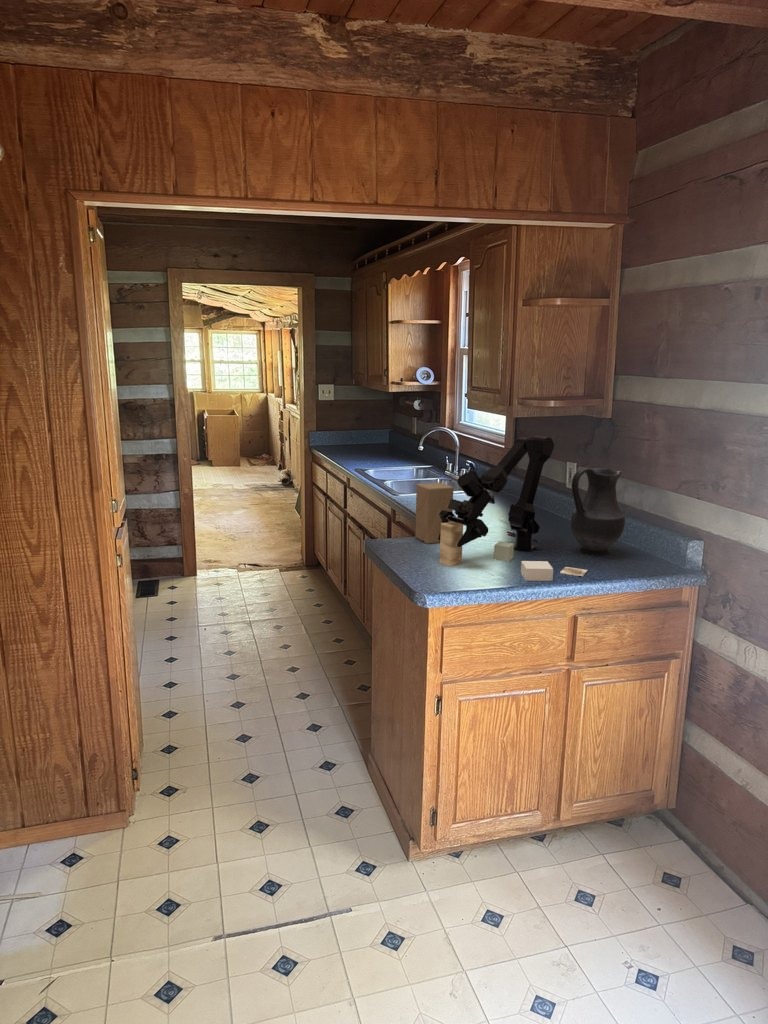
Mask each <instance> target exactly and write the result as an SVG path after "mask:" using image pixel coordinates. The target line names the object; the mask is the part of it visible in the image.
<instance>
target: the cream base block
mask: <svg viewBox="0 0 768 1024" xmlns="http://www.w3.org/2000/svg"><path fill="white" fill-rule="evenodd" d="M520 574H521V576H522V577H523V579H524V581H526V582H527V581H528V582H531V581H532V582H533V581H535V582H536V581H537V582H540V581H541V582H553V576H554V568H553V566H552V565H551V564H550V563H549V561H547V560H545V561H541V560H540V561H539V560H537V561H536V560H521V563H520Z"/></svg>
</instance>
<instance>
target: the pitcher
mask: <svg viewBox="0 0 768 1024" xmlns="http://www.w3.org/2000/svg"><path fill="white" fill-rule="evenodd" d="M584 474H586V476H587V482H588V488H587V491H586V492H585V495H584V496H583V499H582V498H581V494H580V490H579V485H580V484H579V482H580V479H581V477H582V476H583V475H584ZM622 474H623V473H622V471H621V470H614V469H611V468H606V467H598V468H597V467H594V468H592V467H587V466H586V467H585V466H584V467H581V468H579V469H578V470H577V471H575V473H574V475H573V477H572V480H571V492H572V498H573V501H574V505H575V508H574V509H573V510H572V512H571V517H570V528H571V532H572V534H573V537H574V538H575V540H576V541H577V542H578V543H579V545H581V548H580V549H579V552H580V553H581V554H582V553H583V555H585V554H587V555H586V556H588V555H593V556H592V557H597V556H602V557H607V556H609V555H610V553H611V552H610V551H609V548H610V547H611V546H613V545H614V544H615V543H616V542H617V541H618V540H620V538H621V537H622V534H623V532H624V530H625V523H626V516H625V514H624V513H623V512H622V511H621V508H620V507H619V503H618V498H617V483H618V480H619V479H620V476H621V475H622ZM606 555H607V556H606Z"/></svg>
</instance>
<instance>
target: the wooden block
mask: <svg viewBox="0 0 768 1024" xmlns="http://www.w3.org/2000/svg"><path fill="white" fill-rule="evenodd" d="M415 491H416V492H415V493H416V495H415V496H416V497H415V498H416V499H415V534H414V535H415V539H417V538H420V539H421V540H422V541H421V540H420V541H421V542H423V541H424V542H423V543H425V544H426V545H428V544H430V543H431V544H440V541H439V540H438V537H439V534H440V531H441V523H442V520H441V519H440V516H439V513H440V512H441V511H442V510H448V511H452V513H453V511H454V510H452V509H449V508H447V507H448V505H449V502H450V500H451V499H454V486H452V485H448V484H446V483H442V482H429V483H417V484H416V490H415ZM453 514H454V513H453Z"/></svg>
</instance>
